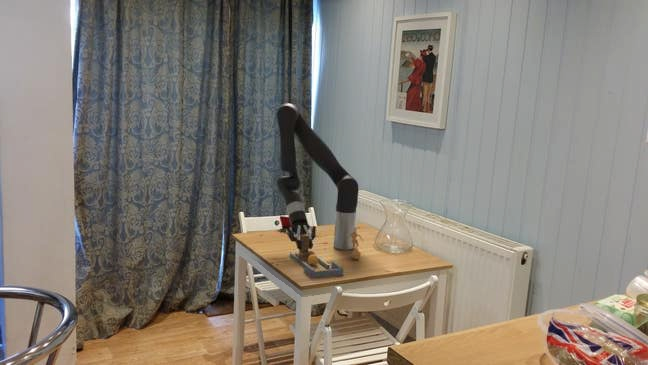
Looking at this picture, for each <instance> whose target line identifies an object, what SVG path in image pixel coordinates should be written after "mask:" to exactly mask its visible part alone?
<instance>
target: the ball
mask: <svg viewBox="0 0 648 365" xmlns="http://www.w3.org/2000/svg"><path fill="white" fill-rule="evenodd" d="M316 255H317V254H315V255H314V254H313V255H310V256H309V257H308V260H307V263H308V265H309V266H316V265H317V264H318V263H319V262H318V260H319V259H318V257H319V256H318V255H317V256H318V257H317V256H316Z"/></svg>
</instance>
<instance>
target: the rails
mask: <svg viewBox="0 0 648 365" xmlns="http://www.w3.org/2000/svg"><path fill="white" fill-rule="evenodd" d="M315 255H316V256H317V257H318V259H319V260H318V263H319V264H320V265H322V266H323V267H324V268H326V270H330V264H329V263H328V262H326V261H325V260H324V259H323V258H321V257H320V256H318V255H317V254H315ZM289 257H291V258H292V259H293V260H295V262H297V263H298V265H300V266H302V268H304V264H307V263H306V261H303V260H301V259H300V258H299V257H298V256H296V255H295V253H294V252H292V251H291V252H289Z"/></svg>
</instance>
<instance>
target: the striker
mask: <svg viewBox="0 0 648 365" xmlns="http://www.w3.org/2000/svg"><path fill="white" fill-rule="evenodd" d="M299 240H300V242H301V245H302V249H301V250H299V249H298V252H295V253H294V254H295V255H296V256H298V257H299V258H300V259H301V260H303V261H304V262H308V257H309V256H310V255H313V254H314V255H316V252H314V251H312V250H310V249H309V235H308V234H300V238H299Z"/></svg>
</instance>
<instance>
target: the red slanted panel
mask: <svg viewBox="0 0 648 365" xmlns="http://www.w3.org/2000/svg"><path fill="white" fill-rule="evenodd" d="M279 219H280V223H281V229H285V230H286V229H287V227H289V228H290V227H291V224H290V220H289V216H284V215H283V216H282V215H280V216H279Z"/></svg>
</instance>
